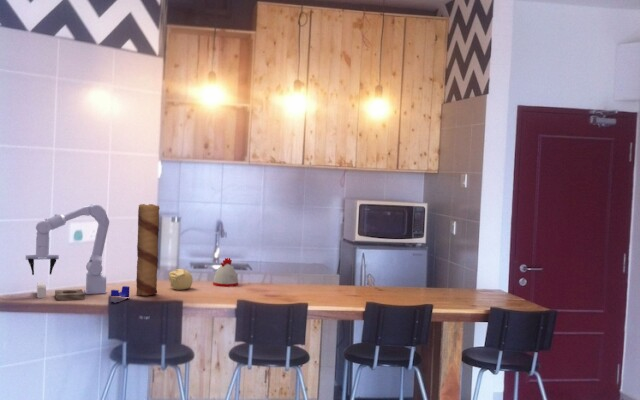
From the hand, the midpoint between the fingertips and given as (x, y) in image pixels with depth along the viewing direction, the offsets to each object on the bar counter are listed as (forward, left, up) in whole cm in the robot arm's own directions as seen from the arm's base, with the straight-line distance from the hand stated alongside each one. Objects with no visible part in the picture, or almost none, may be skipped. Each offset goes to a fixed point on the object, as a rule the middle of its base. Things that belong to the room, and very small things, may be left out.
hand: (41, 274), depth 309 cm
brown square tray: (-12, +9, -10) cm, 18 cm away
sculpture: (-68, -2, -10) cm, 69 cm away
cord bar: (0, 0, -10) cm, 10 cm away
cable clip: (-33, +21, -10) cm, 40 cm away
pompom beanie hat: (-95, -10, -10) cm, 96 cm away
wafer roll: (-48, +10, -10) cm, 50 cm away
